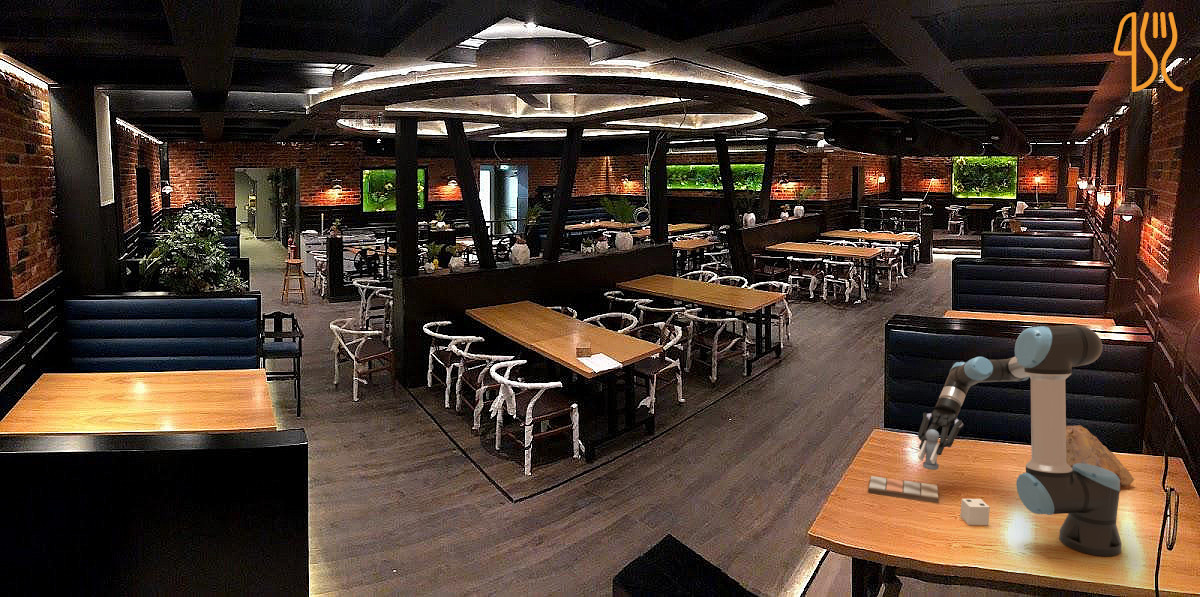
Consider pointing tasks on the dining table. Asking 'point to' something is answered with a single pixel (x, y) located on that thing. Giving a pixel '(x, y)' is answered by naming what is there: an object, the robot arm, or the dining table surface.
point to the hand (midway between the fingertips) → (926, 460)
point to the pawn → (931, 449)
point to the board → (904, 489)
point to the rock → (1093, 453)
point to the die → (975, 511)
